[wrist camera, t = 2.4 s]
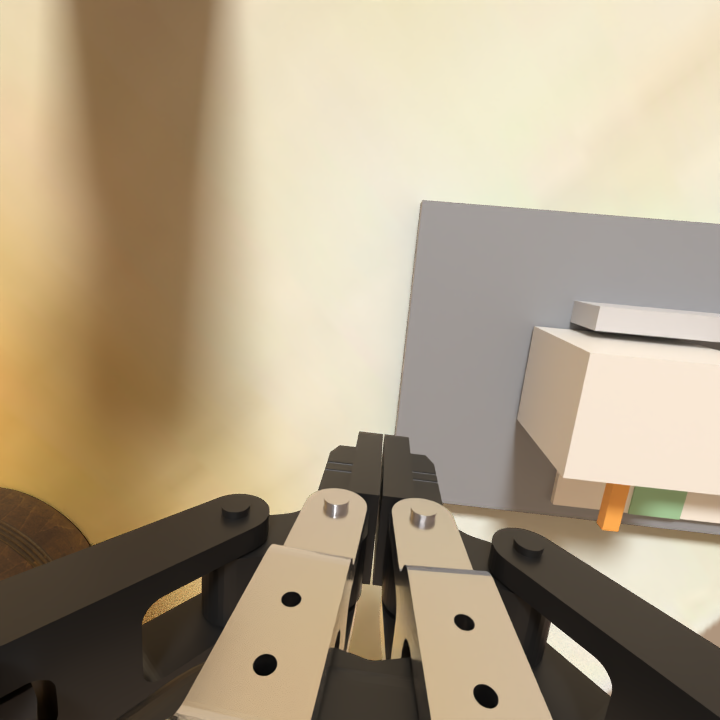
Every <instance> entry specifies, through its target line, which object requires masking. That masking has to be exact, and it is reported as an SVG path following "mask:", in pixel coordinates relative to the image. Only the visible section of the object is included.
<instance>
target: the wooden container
mask: <svg viewBox="0 0 720 720" xmlns="http://www.w3.org/2000/svg"><path fill="white" fill-rule="evenodd" d="M88 547H90V545H89V544H88V542H87V540H86V539H85V538H84V536H83V535H82V534H81V532H80V531H79V530H78V529H77V528H76V527H75V526H74V525H73V524H72V523H71V522H70V521H69V520H68V519H67V518H66V517H65V516H63V515H62V514H61V513H59V512H58V511H57V510H55V509H54V508H52V507H51V506H49V505H48V504H46V503H44V502H43V501H41V500H39V499H36V498H34V497H32V496H30V495H28V494H25V493H22V492H19V491H15V490H11V489H6V488H0V581H1V580H4V579H6V578H9V577H12V576H14V575H17V574H19V573H22V572H25V571H27V570H30V569H33V568H35V567H38V566H40V565H43V564H46V563H48V562H51V561H54V560H56V559H59V558H62V557H64V556H67V555H69V554H72V553H75V552H77V551H80V550H83V549H85V548H88Z"/></svg>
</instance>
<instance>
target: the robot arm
mask: <svg viewBox="0 0 720 720" xmlns="http://www.w3.org/2000/svg"><path fill="white" fill-rule="evenodd" d="M382 440H383V434H377V433H368V432H359V435H358V440H357V445H356V447H350V446H341V445H340V446H338V447H337V448H335V449H334V450H333V451H331V452H330V455H329V458H328V462H327V464H326V467H325V471H324V474H323V477H322V480H321V483H320V486H319V489H318V491H316V492H314V493H313V494H311V495H310V496H309V497H308V498H307V500H306V502H305V503H304V505H303V507H302V509H301V510H300V511H297V512H294V513H289V514H279V515H269V506H268V504H267V503H266V502H265V501H264V500H262V499H261V498H259V497H256V496H253V495H247V494H232V495H226V496H222V497H219V498H217V499H214V500H211V501H209V502H206V503H203V504H201V505H198V506H196V507H193V508H190V509H188V510H185V511H182V512H180V513H177V514H175V515H172V516H169V517H167V518H164V519H161V520H159V521H156V522H154V523H151V524H148V525H146V526H143V527H140V528H138V529H135V530H132V531H130V532H127V533H125V534H122V535H119V536H117V537H114V538H111V539H109V540H106V541H104V542H101V543H98V544H96V545H93V546H90V547H88V548H85V549H83V550H80V551H77V552H75V553H72V554H69V555H67V556H64V557H62V558H59V559H56V560H54V561H51V562H48V563H46V564H43V565H40V566H38V567H35V568H33V569H30V570H27V571H25V572H22V573H19V574H17V575H14V576H12V577H9V578H6V579H4V580H1V581H0V720H720V648H719V647H717V646H716V645H714V644H713V643H711V642H710V641H708V640H706V639H705V638H703V637H702V636H700V635H698V634H697V633H695V632H694V631H692V630H691V629H689V628H687V627H686V626H684V625H683V624H681V623H679V622H678V621H676V620H675V619H673V618H672V617H670V616H668V615H667V614H665V613H664V612H662V611H660V610H659V609H657V608H656V607H654V606H653V605H651V604H649V603H648V602H646V601H645V600H643V599H641V598H640V597H638V596H637V595H635V594H634V593H632V592H630V591H629V590H627V589H626V588H624V587H622V586H621V585H619V584H618V583H616V582H615V581H613V580H611V579H610V578H608V577H607V576H605V575H603V574H602V573H600V572H599V571H597V570H596V569H594V568H592V567H591V566H589V565H588V564H586V563H584V562H583V561H581V560H580V559H578V558H577V557H575V556H573V555H572V554H570V553H569V552H567V551H565V550H564V549H562V548H561V547H559V546H558V545H556V544H554V543H553V542H551V541H550V540H548V539H546V538H545V537H543V536H541V535H539V534H537V533H534V532H531V531H528V530H525V529H519V528H505V529H501V530H499V531H497V532H496V533H495V534H494V535H493V538H492V543H490V542H487V541H484V540H481V539H478V538H475V537H472V536H470V535H467V534H465V533H463V532H462V531H460V530H458V528H457V525H456V522H455V520H454V517H453V515H452V514H451V512H450V511H449V510H448V509H447V508H445V507H444V506H443V504H442V499H441V494H440V490H439V485H438V480H437V476H436V471H435V466H434V464H433V463H432V462H431V460H430V459H429V458H428V457H427V456H426V455H420V454H411V453H410V444H409V437H404V436H395V435H386V434H385V436H384V444H383V453H382ZM381 460H382V462H381ZM375 533H376V534H375ZM374 542H375V551H374ZM373 551H374V569H373V585H378V586H382V597H381V605H380V614H379V619H380V636H381V653H382V660H379V661H372V660H367V659H364V658H361V657H359V656H356V655H354V654H351V653H349V652H348V650H349V645H350V640H351V635H352V630H353V625H354V620H355V615H356V607H357V601H358V599H359V597H360V595H361V588H362V584H369V585H370V577H371V569H372V560H373ZM200 577H202V593H200V594H199V595H197V596H195V597H193V598H191V599H189V600H187V601H186V602H184V603H182V604H180V605H178V606H176V607H175V608H173V609H171V610H169V611H167V612H165V613H164V614H162V615H160V616H158V617H156V618H154V619H152V620H151V621H149V622H147V623H145V624H143V625H142V621H143V618H144V615H145V614H146V612H147V610H148V609H149V608H150V607H151V605H152V604H153V603H155V602H156V601H157V600H158V599H160V598H161V597H163V596H165V595H167V594H169V593H171V592H173V591H175V590H177V589H178V588H180V587H182V586H184V585H186V584H188V583H190V582H192V581H194V580H196V579H198V578H200ZM551 622H552V623H553V624H554V625H555V626H557V627H558V628H559V629H560V630H562V631H563V632H564V633H565V634H567V635H568V636H569V637H570V638H572V639H573V640H574V641H575V642H577V643H578V644H579V645H580V646H582V647H583V648H584V649H585V650H587V651H588V652H589V653H590V654H592V655H593V656H594V657H595V658H596V659H598V661H599V662H600V663H601V664H602V665H603V666H604V668H605V669H606V671H607V673H608V675H609V677H610V680H611V683H612V694H611V697H610V696H609V695H608V694H607V693H606V692H604V691H603V690H602V689H601V688H600V687H599V686H597V685H596V684H595V683H594V682H593V681H591V680H590V679H589V678H588V677H587V676H586V675H584V674H583V673H582V672H581V671H580V670H578V669H577V668H576V667H575V666H574V665H573V664H571V663H570V662H569V661H568V660H567V659H565V658H564V657H563V656H562V655H561V654H560V653H558V652H557V651H556V650H555V649H554V648H552V647H551V646H550V645H549V644H548V643H547V642H546V641H547V637H548V633H549V628H550V624H551Z"/></svg>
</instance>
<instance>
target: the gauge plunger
mask: <svg viewBox="0 0 720 720" xmlns="http://www.w3.org/2000/svg"><path fill="white" fill-rule="evenodd" d="M517 420H518V421H519V422H520V424H521V425H522V426H523V427H524V429H525V430H526V431H527V432H528V434H529V435H530V436H531V438H532V439H533V440H534V441H535V443H536V444H537V445H538V447H539V448H540V449H541V450H542V452H543V453H544V454H545V455H546V457H547V458H548V459H549V461H550V462H551V463H552V464H553V466H554V467H555V468H556V470H557V471H558V472H559V473H560V475H561V476H562V477H563V478H568V479H577V480H586V481H595V482H604V483H606V486H605V490H604V494H603V498H602V502H601V507H600V511H599V515H598V519H597V524H598V525H599V527H600V528H601V529H602V530H607V531H615V532H618V531H619V527H620V523H621V519H622V515H623V512H624V508H625V504H626V500H627V496H628V492H629V489H630V485H631V486H640V487H650V488H659V489H668V490H677V491H686V492H695V493H704V494H713V495H720V351H718V350H715V349H711V348H708V347H704V346H701V345H697V344H694V343H690V342H687V341H683V340H677V339H666V338H656V337H645V336H634V335H624V334H613V333H603V332H592V331H581V330H571V329H560V328H549V327H539V326H534V329H533V335H532V340H531V346H530V351H529V357H528V362H527V367H526V373H525V378H524V384H523V389H522V395H521V400H520V405H519V411H518V416H517Z"/></svg>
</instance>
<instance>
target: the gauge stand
mask: <svg viewBox="0 0 720 720" xmlns="http://www.w3.org/2000/svg"><path fill="white" fill-rule="evenodd" d="M534 326H539V327H549V328H560V329H571V330H581V331H592V332H603V333H613V334H624V335H634V336H645V337H656V338H666V339H677V340H683V341H687V342H690V343H694V344H697V345H701V346H704V347H708V348H711V349H715V350H718V351H720V224H712V223H700V222H687V221H675V220H662V219H650V218H638V217H625V216H613V215H600V214H588V213H575V212H563V211H551V210H538V209H526V208H513V207H501V206H489V205H476V204H464V203H451V202H439V201H427V200H422V202H421V205H420V214H419V223H418V232H417V241H416V250H415V259H414V268H413V277H412V286H411V294H410V303H409V312H408V321H407V330H406V339H405V348H404V357H403V366H402V375H401V383H400V392H399V401H398V410H397V419H396V428H395V436H404V437H409V444H410V453H411V454H420V455H426V456H427V457H428V458H429V459H430V460H431V462H432V463H433V464H434V466H435V471H436V476H437V480H438V485H439V490H440V494H441V499H442V503H447V504H456V505H465V506H474V507H482V508H491V509H500V510H508V511H517V512H526V513H534V514H543V515H552V516H560V517H569V518H578V519H587V520H595V521H597V519H598V515H599V511H600V507H601V502H602V498H603V494H604V490H605V486H606V483H604V482H595V481H586V480H577V479H568V478H563V477H562V476H561V475H560V473H559V472H558V471H557V470H556V468H555V467H554V466H553V464H552V463H551V462H550V461H549V459H548V458H547V457H546V455H545V454H544V453H543V452H542V450H541V449H540V448H539V447H538V445H537V444H536V443H535V441H534V440H533V439H532V438H531V436H530V435H529V434H528V432H527V431H526V430H525V429H524V427H523V426H522V425H521V424H520V422H519V421H518V420H517V416H518V411H519V405H520V400H521V395H522V389H523V384H524V378H525V373H526V367H527V362H528V357H529V351H530V346H531V340H532V335H533V329H534ZM621 524H630V525H639V526H647V527H656V528H665V529H673V530H682V531H691V532H699V533H708V534H717V535H720V495H713V494H704V493H695V492H686V491H677V490H668V489H659V488H650V487H640V486H631V485H630V489H629V492H628V496H627V500H626V504H625V508H624V512H623V515H622V519H621Z"/></svg>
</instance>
